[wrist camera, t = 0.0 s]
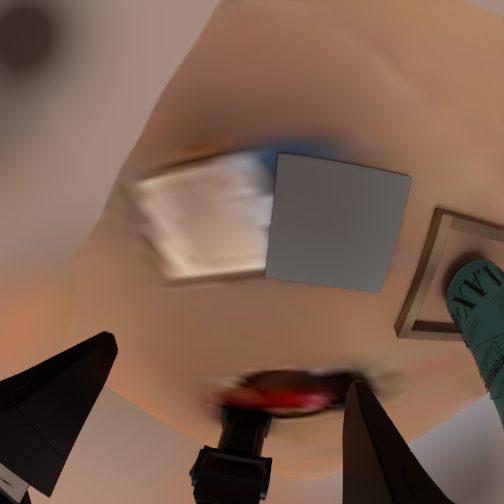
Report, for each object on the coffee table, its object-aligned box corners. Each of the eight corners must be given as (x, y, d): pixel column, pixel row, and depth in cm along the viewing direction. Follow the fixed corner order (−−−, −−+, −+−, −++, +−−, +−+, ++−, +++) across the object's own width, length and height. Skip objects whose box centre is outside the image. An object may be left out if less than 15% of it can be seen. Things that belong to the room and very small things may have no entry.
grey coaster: (379, 289, 23) (380, 293, 23) (265, 273, 24) (264, 276, 24) (409, 176, 19) (411, 177, 18) (279, 152, 20) (278, 153, 20)
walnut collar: (481, 333, 23) (486, 341, 22) (394, 327, 25) (397, 337, 23) (524, 234, 18) (532, 240, 17) (435, 208, 19) (442, 214, 18)
